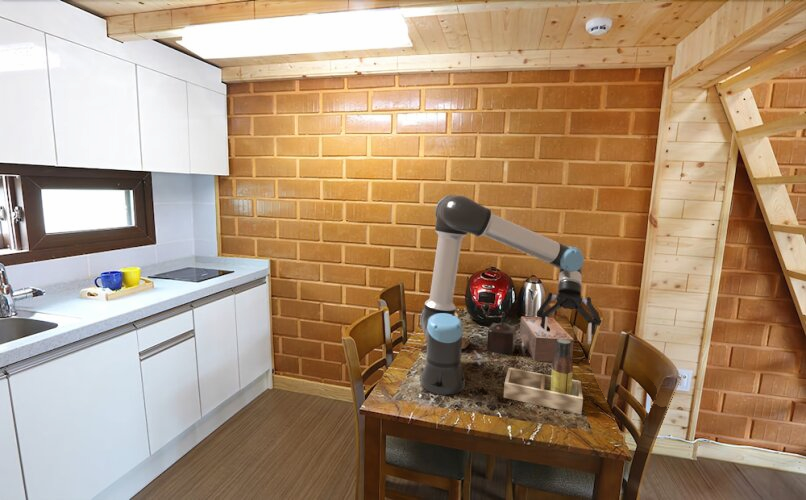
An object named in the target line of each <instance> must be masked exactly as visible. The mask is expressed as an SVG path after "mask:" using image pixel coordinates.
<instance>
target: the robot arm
mask: <svg viewBox="0 0 806 500" xmlns="http://www.w3.org/2000/svg"><path fill="white" fill-rule="evenodd" d="M434 212H435V218H436V222H435V229H434V231H435V233H436V234H437V236H438V237H437V244H436V251H435V258H434V265H433V272H432V278H431V285H430V293H429V299H426V301H425V302H424V307H423V310H422V312H421V314H420V327H421V329H422V332H423V334H424V336H425V337H424V338H425V339H426V361H425V364H424V367H423V369H422V373H421V374H420V385H421V387H422V388H423V389H425V391H428V392H429V393H432V394H436V395H444V396H449V395H450V396H451V395H454V394H455V395H456V394H458V393H460V392H462V391H463V390H464V389H465V385H466V379H465V375H464V371H463V367H462V364H461V361H462V360H461V359H462V358H461V357H462V349H461V345H462V338H463V336H462V335H463V331H464V330H463V324H462V321H461V318H460V317H459V318H460V319H459V318H458V317H456V316H455V313H456V309H457V306H456V305H455V304H454V302H453V300H454V295H455V293H454V292H455V287H456V281H457V280H456V279H457V273H458V267H459V260H460V253H461V248H462V246H461V245H462V241H463V239H464V238H465V237H467V235H468V234H471V235H474V236H476V237H483V236H484V237H486V238H489V239H491V240H493V241H496V242H499V243H500V244H502V245H506V246H508V247H510V248H513V249H514V250H517V251H520V252H521V253H524V254H526V255H529V256H531V257H534V258H536V259H538V260H540V261H543V262H545V263H546V264H548V265H551V266H553V267H555V268H556V269H559V272H558V273H559V274H558V275H559V276H558V290H557V294H553V293H552V292H548V295H547V298H546V299H545V300H544V302H543V303H542V304H541V306H540V307H539V308H538V310H537V311H536V317H540V318H541V319H542V321H541V327H544V337H545V338H546V332H547V321H548V318H550V316H551V315H552V314H554V313H555V312H557V310H559V309H561V308H563V309H564V310H565V309H566V310H567V309H569V310H576V312H578V313H579V314H580V315H581V317H582V318H584V320H585V321H586V322H587V323H588V325H587V345H591V343H592V335H595V334H596V333H595V332H596V326H597V327H599V326H601V323H602V319H601V318H600V316H599V314H598V312H597V310H596V309H595V307H594V305H593V304H592V298H591V297H590V296H588V297H586V298H583V297H582V274H583V273H582V270H583V264H584V261H585V258H584V255H583V252H582V251H581V249H580V248H578V247H576V246H574V247H573V246H567V245H565V244H562V243H560V242H558V241H555V240H553V239H551V238H549V237H547V236H545V235H544V236H543V235H542V234H539V233H537V232H535V231H532V230H530V229H528V228H526V227H523V226H521V225H518V224H517V223H515V222H512V221H509V220H508V219H506V218H502V217H500V216H498V215H496V214H494V213H493V211H492V210H491V209H490V208H488V207H485V206H483V205H481V204H480V203H478V202H476V201H474V200H472V199H471V198H469V197H467V196H465V195H456V194H454V195H453V194H450V195H446V196H445V197H443V198H441V199H440V200H439V202H438V203H437V205H436V207H435V211H434ZM554 300H556V303H555V304H553V305H552V306H551V307H550V308H548V307H549V306H550V305H551V302H553V301H554ZM582 303H583V304H584V305H585V306H586V309H587V310H588V311H586V309H585V308H584V307H583V305H582ZM547 308H548V309H547ZM546 309H547V310H546ZM588 312H589V313H588Z"/></svg>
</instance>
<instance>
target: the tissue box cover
mask: <svg viewBox="0 0 806 500" xmlns="http://www.w3.org/2000/svg"><path fill="white" fill-rule="evenodd" d="M541 321H542V319H541V318H540V317H537V316H520V327H519V338H520V339H521V341H522V343H523V344H524V346H525V348H526V350H527V351H528V353H529V355H530V356H531V358H532V360H533V361H534V362H546V363H553V360H554V358H555V356H556V353H557V340H558V339H567V340H569V341H570V342H571V346H570V357H571V359H572V360H573V351H574V342H575V340H574V339H575V338H573V337H572V335H570V334H569V333H568V332H567V330H565V329H564V328H563V326H562V325H561V324H560V323H558V321H556V319H555V318H554V317H548V321H547V332H546V338H545V337H544V327H541Z"/></svg>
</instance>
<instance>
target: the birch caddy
mask: <svg viewBox="0 0 806 500" xmlns="http://www.w3.org/2000/svg"><path fill="white" fill-rule="evenodd" d="M551 376H552V374H545V373H539V372H536V371H534V372H533V371H530V370H523V369H518V368H514V367H508V369H507V373H506V376H505V381H504V385H503V386H504V387H503V399H509V400H514V401H517V402H524V403H527V404H533V405H536V406H541V407H545V408H550V409H554V410H559V411H563V412H569V413H573V414H579V415H582V412H583V411H582V410H583V402H584V398H583V390H582V382H581V380H576V379H574V378H572V395H568V394H563V393H558V392H553V391H551Z"/></svg>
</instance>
